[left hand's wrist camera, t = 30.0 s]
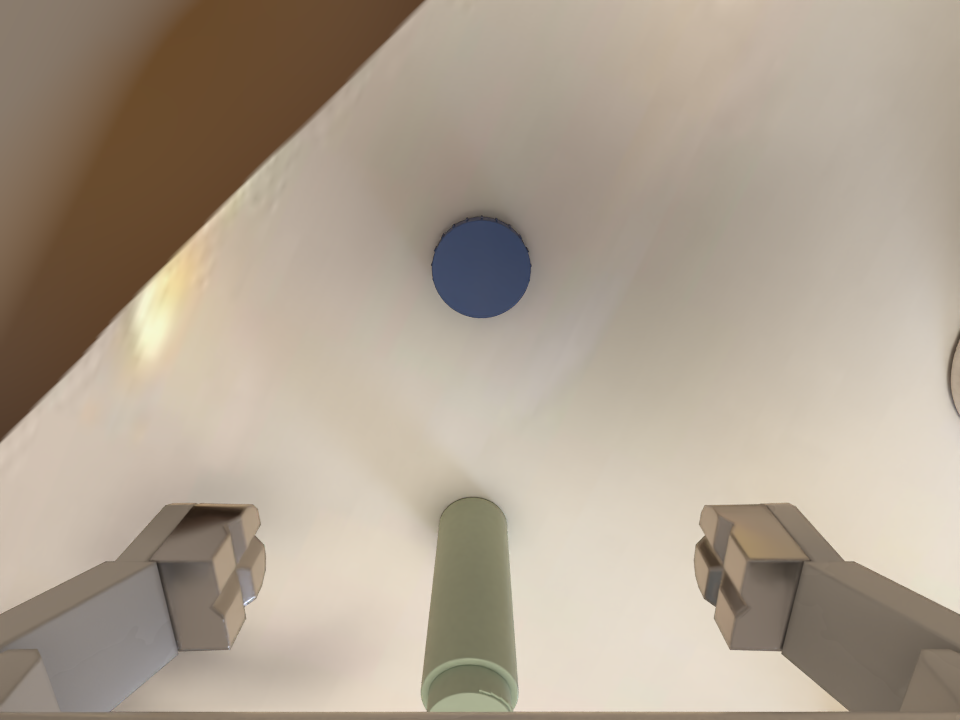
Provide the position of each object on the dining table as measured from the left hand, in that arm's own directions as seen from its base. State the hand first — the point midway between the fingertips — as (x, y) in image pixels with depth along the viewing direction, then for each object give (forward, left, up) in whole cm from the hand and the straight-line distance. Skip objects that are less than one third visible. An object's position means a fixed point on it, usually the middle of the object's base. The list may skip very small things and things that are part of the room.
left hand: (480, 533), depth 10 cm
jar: (+15, +13, -27) cm, 33 cm away
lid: (0, 0, -25) cm, 25 cm away
